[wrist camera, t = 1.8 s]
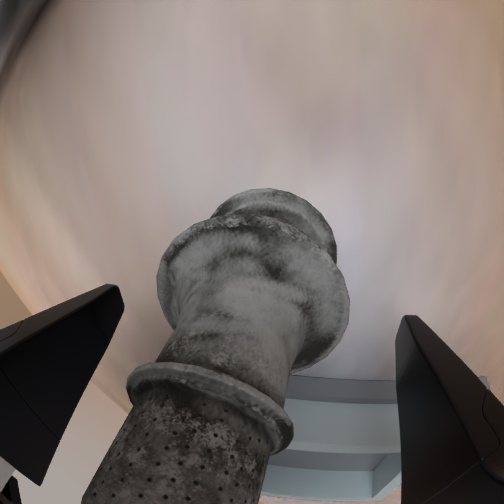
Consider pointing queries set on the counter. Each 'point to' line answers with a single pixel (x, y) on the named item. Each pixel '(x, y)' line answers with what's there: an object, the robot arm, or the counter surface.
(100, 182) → the counter surface
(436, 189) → the counter surface
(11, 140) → the counter surface
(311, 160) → the counter surface
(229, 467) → the grey stone chess piece
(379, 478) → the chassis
